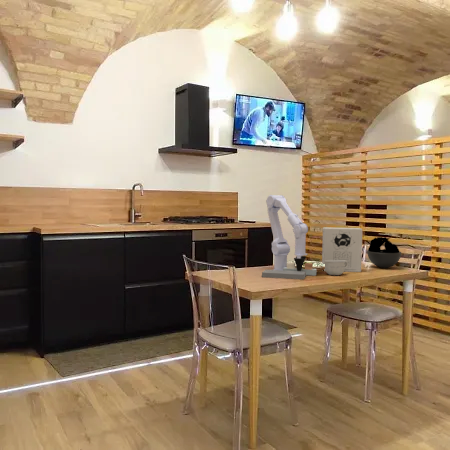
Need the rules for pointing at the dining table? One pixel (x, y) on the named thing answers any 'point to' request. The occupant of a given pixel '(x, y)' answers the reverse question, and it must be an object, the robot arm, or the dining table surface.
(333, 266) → the teacup
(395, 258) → the coal bowl
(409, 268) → the dining table surface
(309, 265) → the crate terracotta
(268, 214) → the robot arm
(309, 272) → the grey rectangular bar
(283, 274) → the block
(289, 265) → the crate cream
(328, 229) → the cereal box
